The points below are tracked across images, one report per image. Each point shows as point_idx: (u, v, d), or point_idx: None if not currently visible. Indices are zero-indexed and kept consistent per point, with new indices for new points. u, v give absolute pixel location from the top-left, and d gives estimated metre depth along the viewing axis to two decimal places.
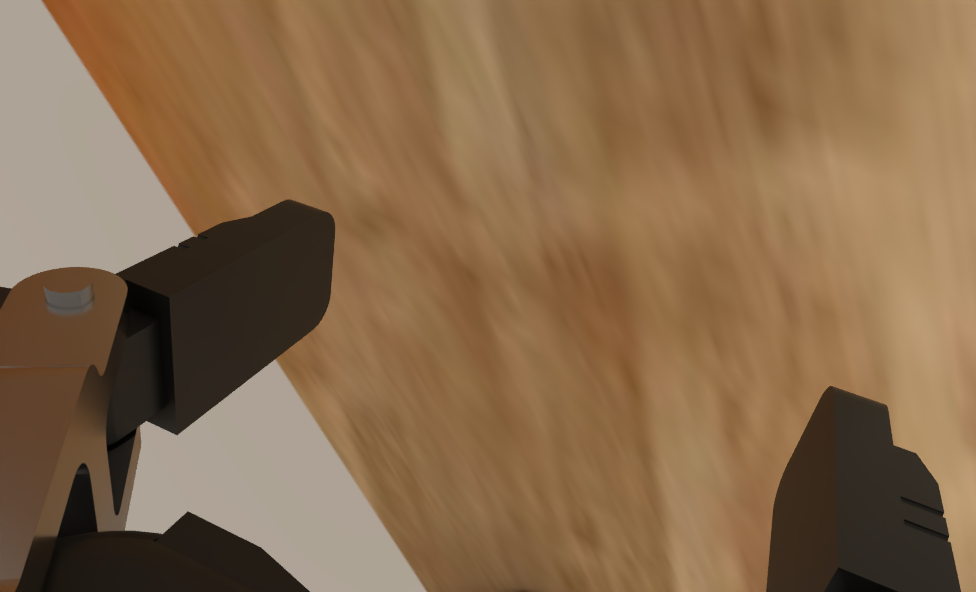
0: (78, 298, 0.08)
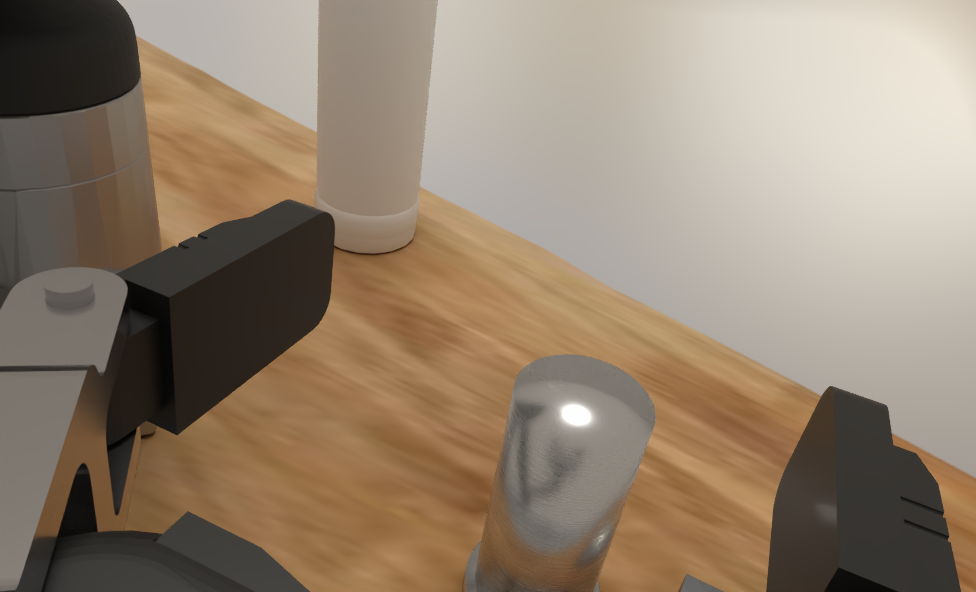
0: (78, 298, 0.08)
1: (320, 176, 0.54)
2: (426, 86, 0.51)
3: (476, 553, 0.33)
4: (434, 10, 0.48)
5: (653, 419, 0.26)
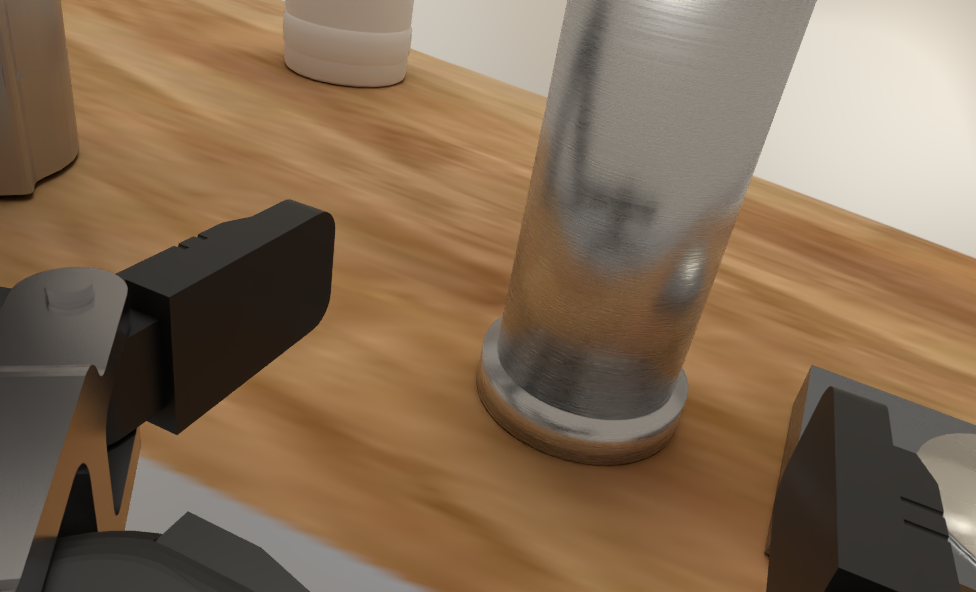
0: (78, 299, 0.08)
1: None
2: None
3: (498, 327, 0.22)
4: None
5: None
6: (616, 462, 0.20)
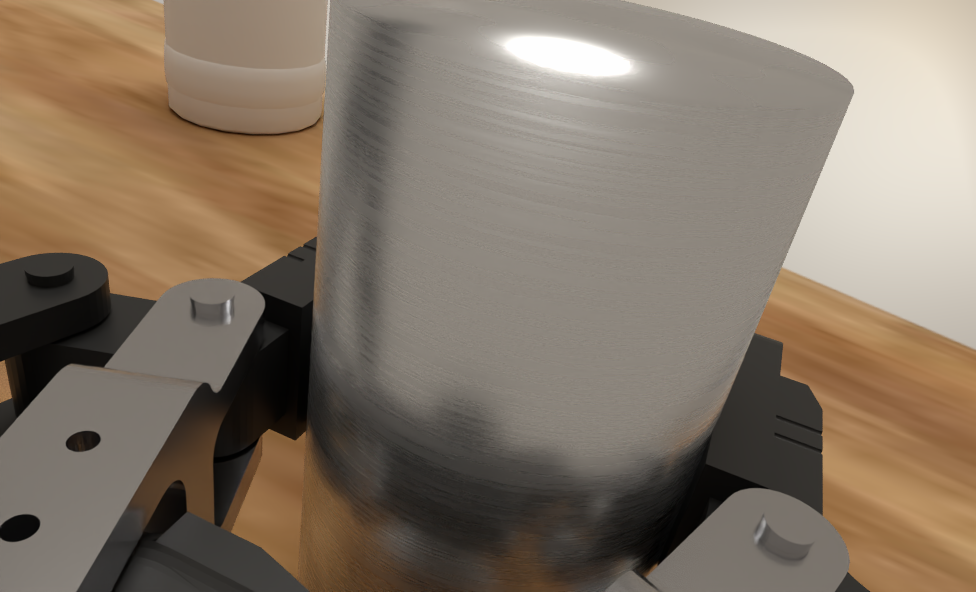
0: (217, 311, 0.09)
1: (165, 6, 0.35)
2: None
3: None
4: None
5: (842, 79, 0.07)
6: None
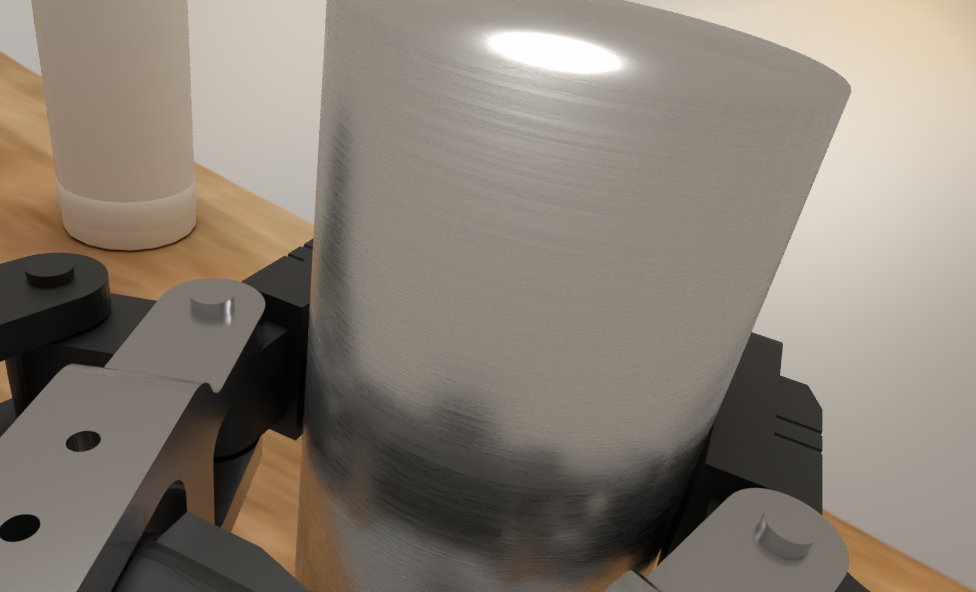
0: (217, 311, 0.09)
1: (53, 152, 0.43)
2: (176, 38, 0.41)
3: None
4: None
5: (840, 78, 0.07)
6: None
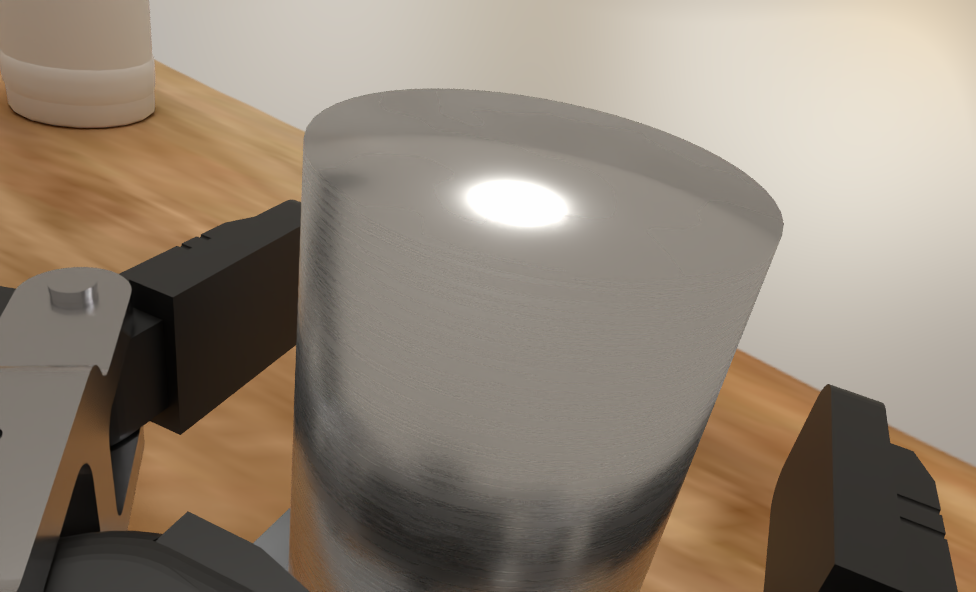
0: (82, 299, 0.08)
1: None
2: None
3: None
4: None
5: (776, 214, 0.08)
6: None
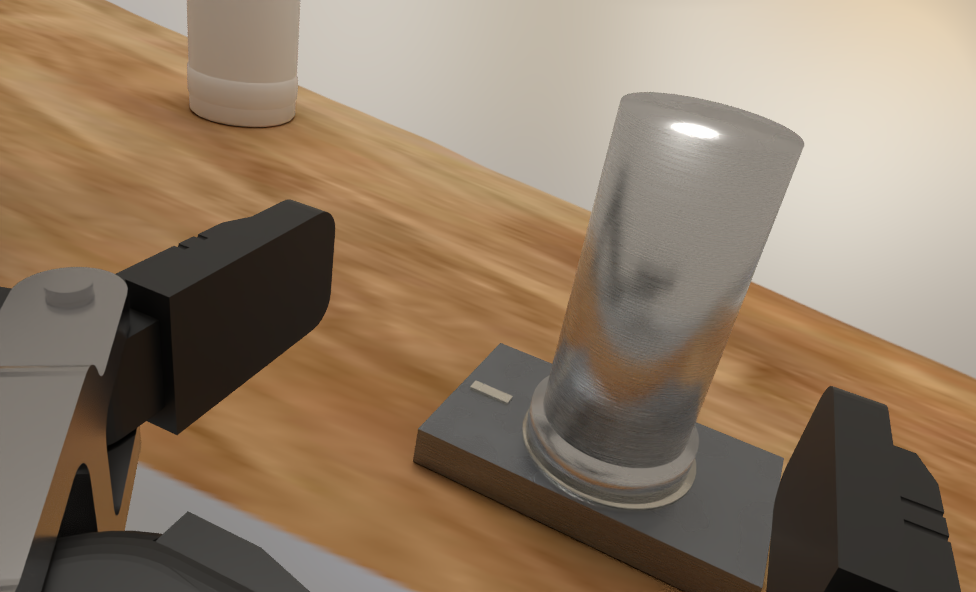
0: (78, 298, 0.08)
1: (188, 41, 0.52)
2: None
3: (542, 388, 0.27)
4: None
5: (801, 140, 0.21)
6: (642, 501, 0.24)
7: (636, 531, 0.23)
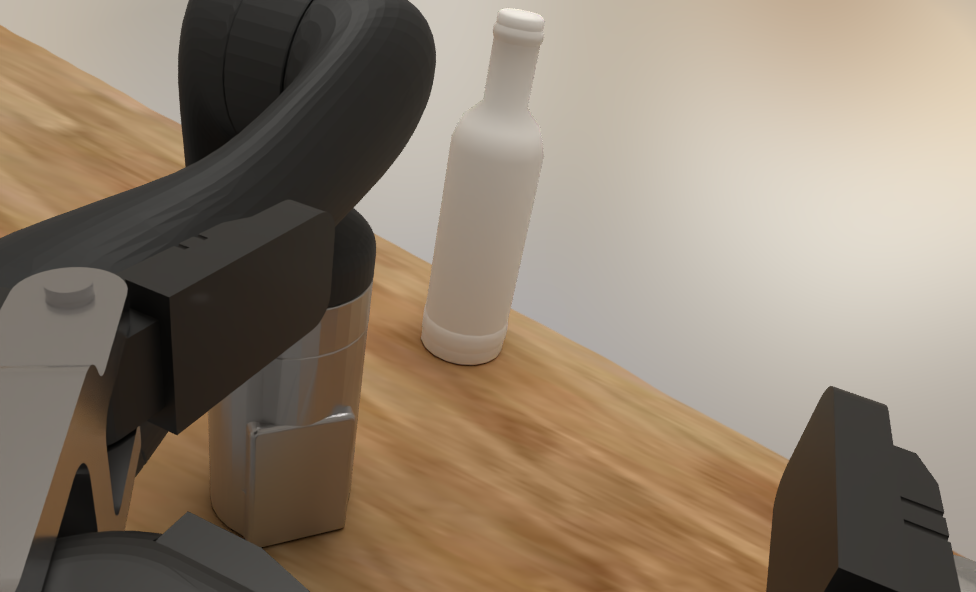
0: (78, 298, 0.08)
1: (433, 302, 0.65)
2: (525, 234, 0.63)
3: None
4: (538, 179, 0.61)
5: None
6: None
7: None
